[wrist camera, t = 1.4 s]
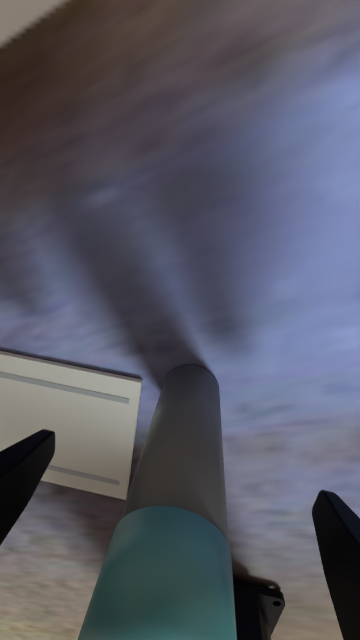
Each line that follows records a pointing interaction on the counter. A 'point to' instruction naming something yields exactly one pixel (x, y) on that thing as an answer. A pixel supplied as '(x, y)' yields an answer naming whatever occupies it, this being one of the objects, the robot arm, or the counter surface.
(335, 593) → the robot arm
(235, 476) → the counter surface
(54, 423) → the paper
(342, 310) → the counter surface
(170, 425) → the marker
